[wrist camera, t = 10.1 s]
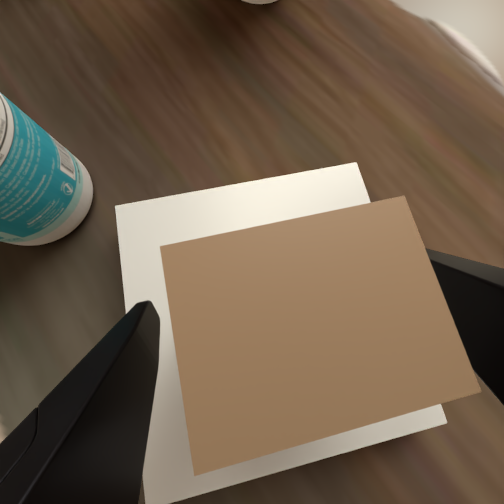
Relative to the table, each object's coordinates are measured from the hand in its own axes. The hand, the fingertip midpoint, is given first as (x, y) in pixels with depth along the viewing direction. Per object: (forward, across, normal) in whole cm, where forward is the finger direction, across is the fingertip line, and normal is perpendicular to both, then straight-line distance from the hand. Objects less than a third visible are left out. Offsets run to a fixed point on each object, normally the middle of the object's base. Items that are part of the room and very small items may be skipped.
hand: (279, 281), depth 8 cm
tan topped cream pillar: (+5, 0, +6) cm, 8 cm away
